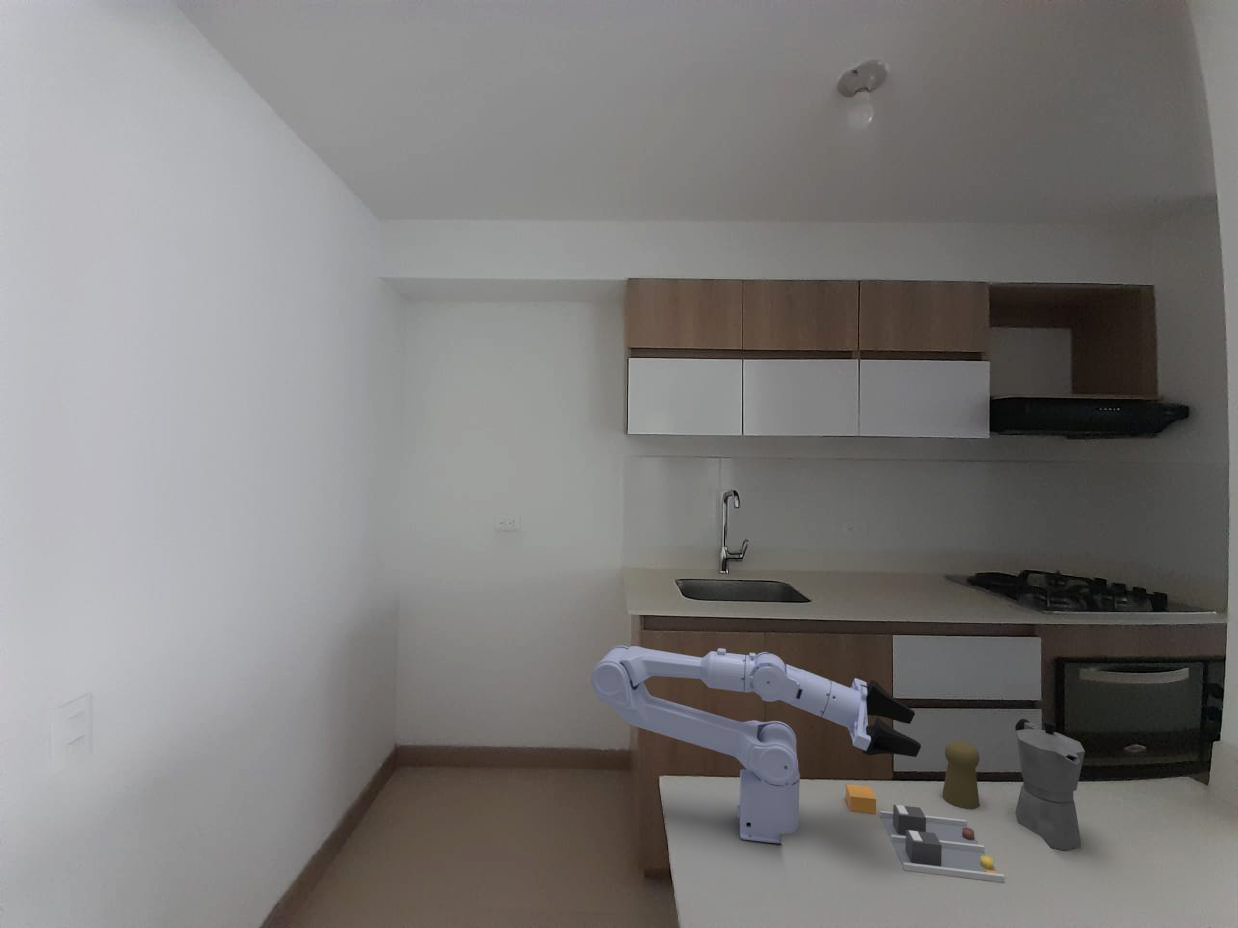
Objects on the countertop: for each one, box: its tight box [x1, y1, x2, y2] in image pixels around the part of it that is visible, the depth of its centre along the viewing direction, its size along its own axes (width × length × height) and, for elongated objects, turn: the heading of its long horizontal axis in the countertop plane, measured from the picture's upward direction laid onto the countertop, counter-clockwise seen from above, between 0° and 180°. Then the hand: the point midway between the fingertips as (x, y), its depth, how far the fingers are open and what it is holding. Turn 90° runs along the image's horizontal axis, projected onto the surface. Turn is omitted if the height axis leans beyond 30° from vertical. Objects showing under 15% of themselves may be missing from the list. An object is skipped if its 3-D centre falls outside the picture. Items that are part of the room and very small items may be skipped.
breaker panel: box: [879, 810, 1006, 884], centre depth 95 cm, size 13×14×2 cm
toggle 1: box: [892, 804, 926, 835], centre depth 99 cm, size 4×3×3 cm
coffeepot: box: [1014, 718, 1086, 851], centre depth 103 cm, size 15×9×18 cm, turn 176°
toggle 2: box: [905, 830, 942, 866], centre depth 92 cm, size 4×3×3 cm
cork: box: [941, 740, 981, 810], centre depth 108 cm, size 6×6×11 cm
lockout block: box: [845, 783, 877, 815], centre depth 106 cm, size 4×4×4 cm
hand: (915, 733), depth 96 cm, fingers open, 7 cm apart
